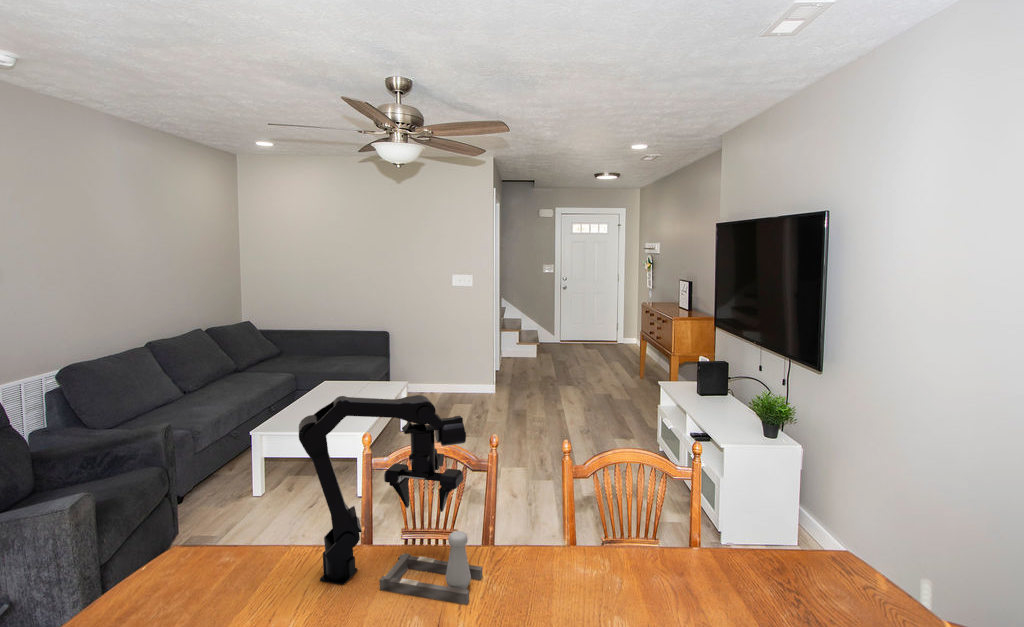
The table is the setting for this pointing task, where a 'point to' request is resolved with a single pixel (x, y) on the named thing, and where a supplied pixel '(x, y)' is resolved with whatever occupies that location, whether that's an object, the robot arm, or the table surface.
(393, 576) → the guide rails
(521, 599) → the table surface
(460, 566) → the salt shaker
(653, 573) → the table surface
